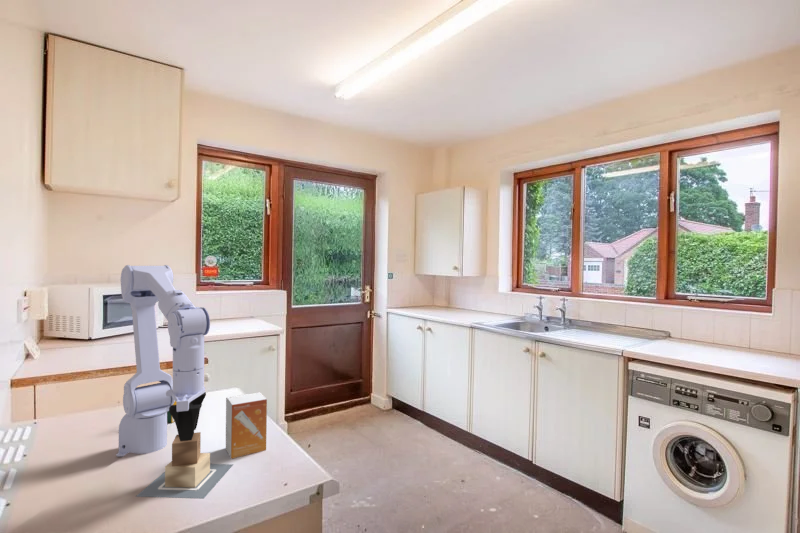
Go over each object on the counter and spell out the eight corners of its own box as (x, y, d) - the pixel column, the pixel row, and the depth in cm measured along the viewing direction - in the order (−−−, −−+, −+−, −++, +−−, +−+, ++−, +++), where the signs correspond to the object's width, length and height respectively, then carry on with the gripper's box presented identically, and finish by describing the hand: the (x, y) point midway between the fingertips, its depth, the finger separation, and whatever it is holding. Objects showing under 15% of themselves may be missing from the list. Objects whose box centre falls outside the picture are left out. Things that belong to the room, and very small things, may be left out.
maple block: (165, 486, 82) (165, 466, 82) (181, 471, 88) (181, 452, 88) (195, 487, 82) (195, 467, 82) (209, 472, 88) (210, 453, 88)
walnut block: (171, 466, 82) (172, 443, 82) (176, 456, 86) (176, 434, 86) (197, 463, 83) (197, 441, 83) (200, 453, 87) (200, 432, 87)
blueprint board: (135, 500, 78) (135, 495, 78) (175, 466, 91) (175, 462, 91) (203, 502, 78) (203, 497, 78) (233, 468, 91) (233, 463, 91)
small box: (230, 462, 94) (231, 404, 94) (225, 451, 99) (225, 396, 99) (267, 453, 98) (267, 398, 98) (259, 443, 103) (260, 391, 103)
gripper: (173, 361, 90) (173, 423, 90) (158, 379, 76) (157, 453, 76) (209, 359, 92) (208, 420, 92) (200, 376, 79) (200, 447, 79)
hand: (188, 434), depth 85 cm, fingers open, 5 cm apart
